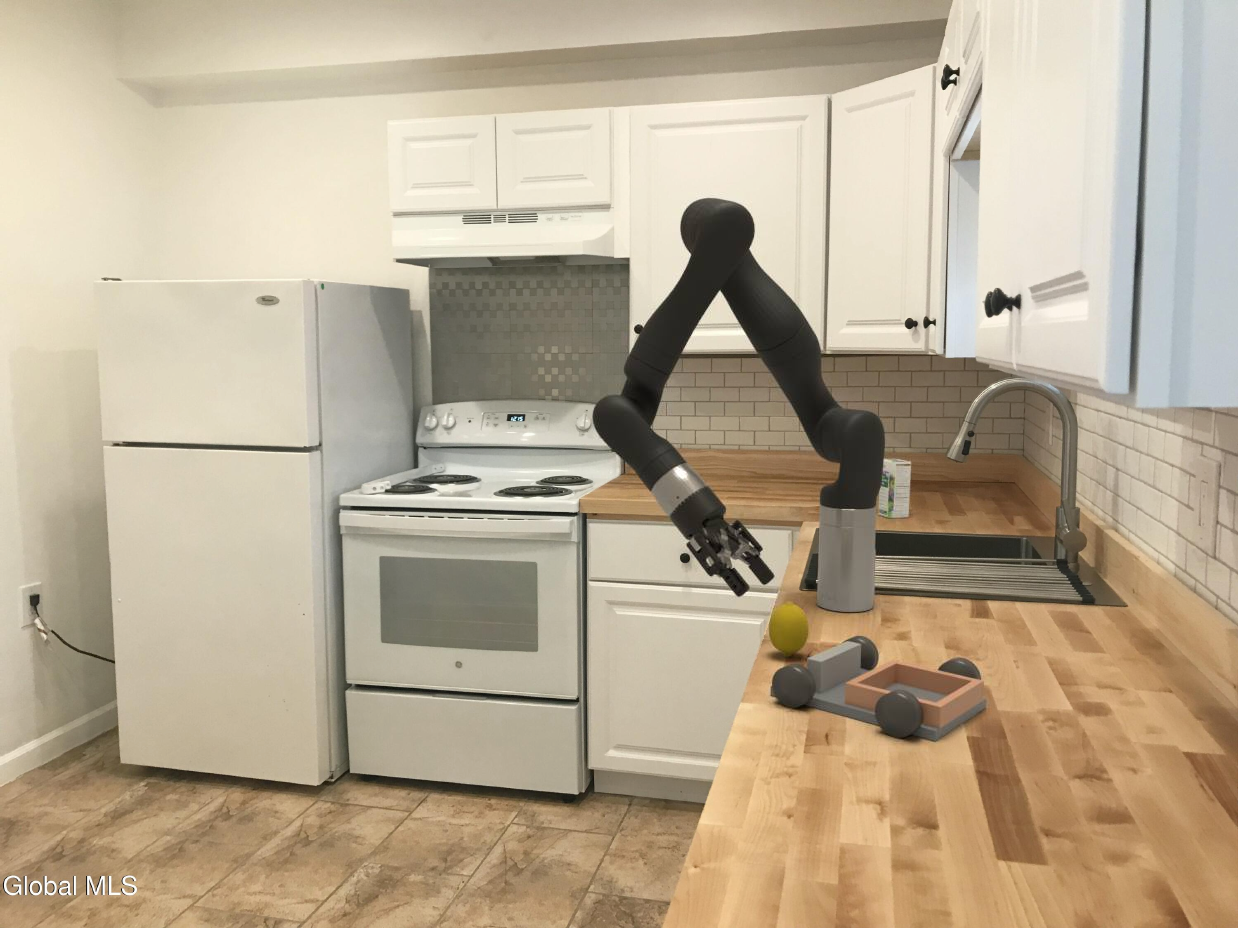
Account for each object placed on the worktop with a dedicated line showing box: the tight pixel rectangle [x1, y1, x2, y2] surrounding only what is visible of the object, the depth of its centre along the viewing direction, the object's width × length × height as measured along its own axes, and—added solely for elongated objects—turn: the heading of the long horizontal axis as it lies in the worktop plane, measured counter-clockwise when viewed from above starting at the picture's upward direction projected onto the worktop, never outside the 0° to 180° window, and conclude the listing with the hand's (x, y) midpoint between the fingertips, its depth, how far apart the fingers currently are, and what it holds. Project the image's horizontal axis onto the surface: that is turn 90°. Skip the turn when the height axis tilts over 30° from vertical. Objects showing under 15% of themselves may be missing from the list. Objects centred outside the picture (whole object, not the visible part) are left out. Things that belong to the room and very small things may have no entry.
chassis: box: [769, 635, 987, 742], centre depth 126 cm, size 18×22×5 cm
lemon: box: [768, 601, 810, 658], centre depth 144 cm, size 6×6×8 cm
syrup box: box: [877, 458, 912, 519], centre depth 258 cm, size 6×6×14 cm
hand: (757, 586), depth 146 cm, fingers open, 8 cm apart
